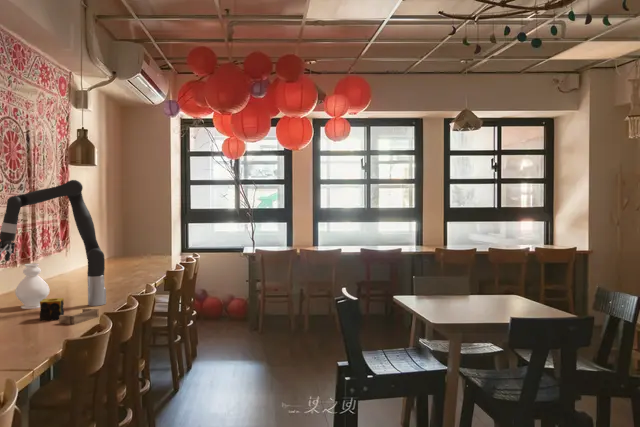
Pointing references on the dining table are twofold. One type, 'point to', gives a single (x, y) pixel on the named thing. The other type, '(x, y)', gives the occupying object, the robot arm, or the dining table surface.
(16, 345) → the dining table surface
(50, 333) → the dining table surface
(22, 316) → the dining table surface
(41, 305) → the candle
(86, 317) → the dock
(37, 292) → the decorative vase
